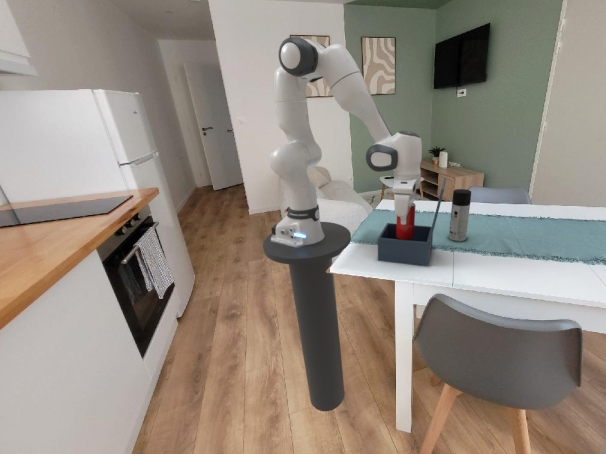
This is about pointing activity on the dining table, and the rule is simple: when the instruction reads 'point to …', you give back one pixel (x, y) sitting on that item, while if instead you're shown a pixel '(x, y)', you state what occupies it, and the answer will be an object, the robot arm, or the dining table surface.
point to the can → (406, 225)
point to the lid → (437, 209)
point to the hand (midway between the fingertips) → (405, 219)
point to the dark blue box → (405, 246)
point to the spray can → (459, 214)
